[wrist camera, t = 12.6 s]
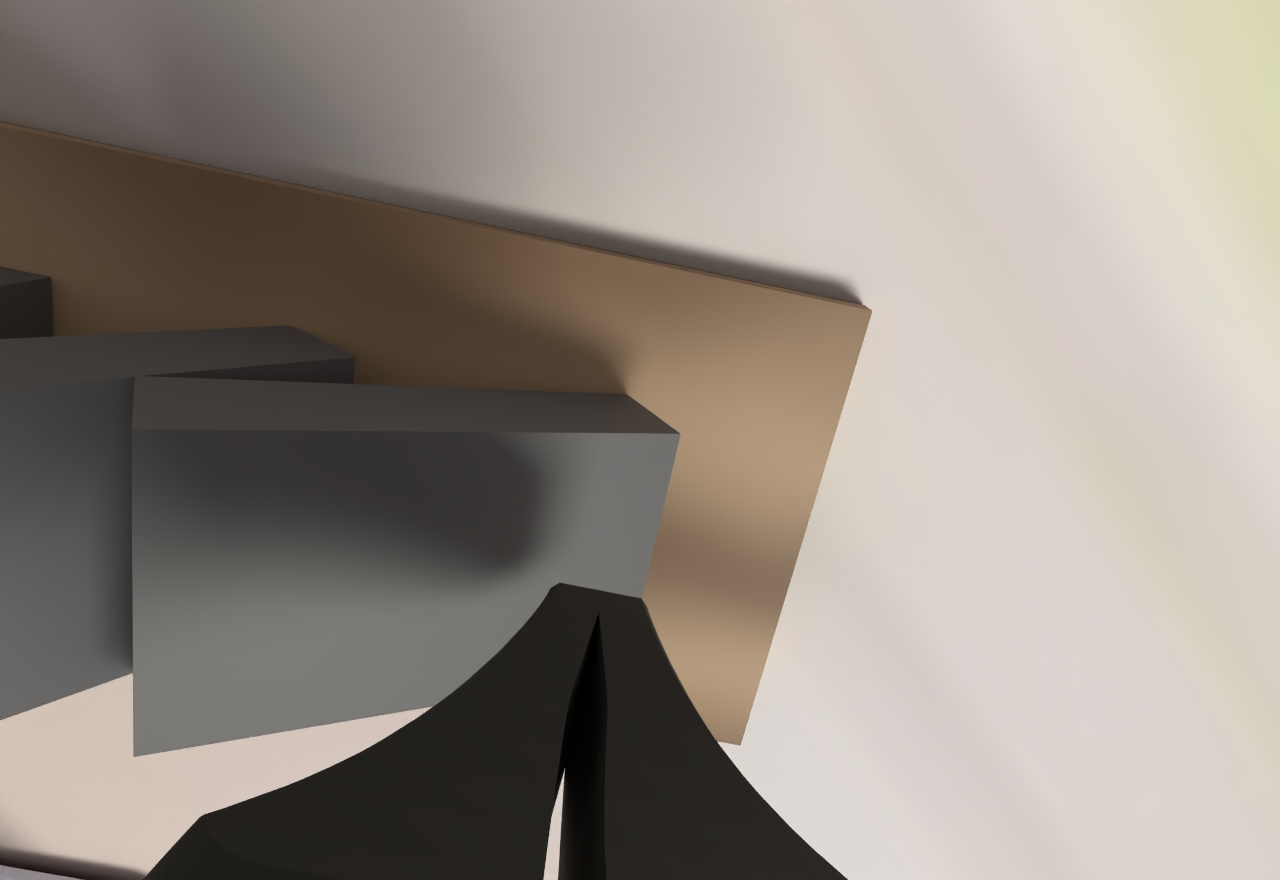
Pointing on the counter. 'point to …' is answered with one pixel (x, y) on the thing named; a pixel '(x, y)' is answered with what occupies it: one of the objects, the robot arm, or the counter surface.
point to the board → (481, 348)
